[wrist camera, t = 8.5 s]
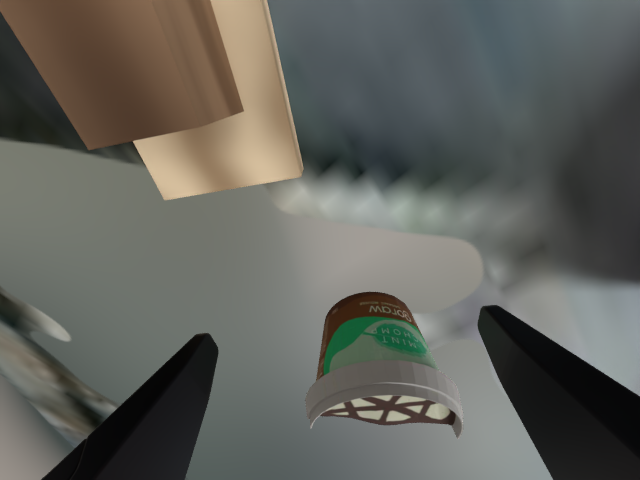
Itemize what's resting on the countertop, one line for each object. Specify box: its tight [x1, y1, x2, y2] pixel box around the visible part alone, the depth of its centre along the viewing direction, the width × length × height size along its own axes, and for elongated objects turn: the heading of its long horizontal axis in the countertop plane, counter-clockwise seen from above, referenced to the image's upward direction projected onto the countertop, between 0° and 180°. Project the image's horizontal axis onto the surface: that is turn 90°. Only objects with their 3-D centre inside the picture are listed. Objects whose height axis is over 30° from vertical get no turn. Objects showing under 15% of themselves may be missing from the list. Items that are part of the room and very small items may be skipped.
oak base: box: [133, 0, 303, 200], centre depth 15 cm, size 10×14×2 cm
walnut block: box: [0, 0, 244, 150], centre depth 11 cm, size 5×5×6 cm
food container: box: [305, 292, 463, 439], centre depth 22 cm, size 12×6×10 cm, turn 85°
